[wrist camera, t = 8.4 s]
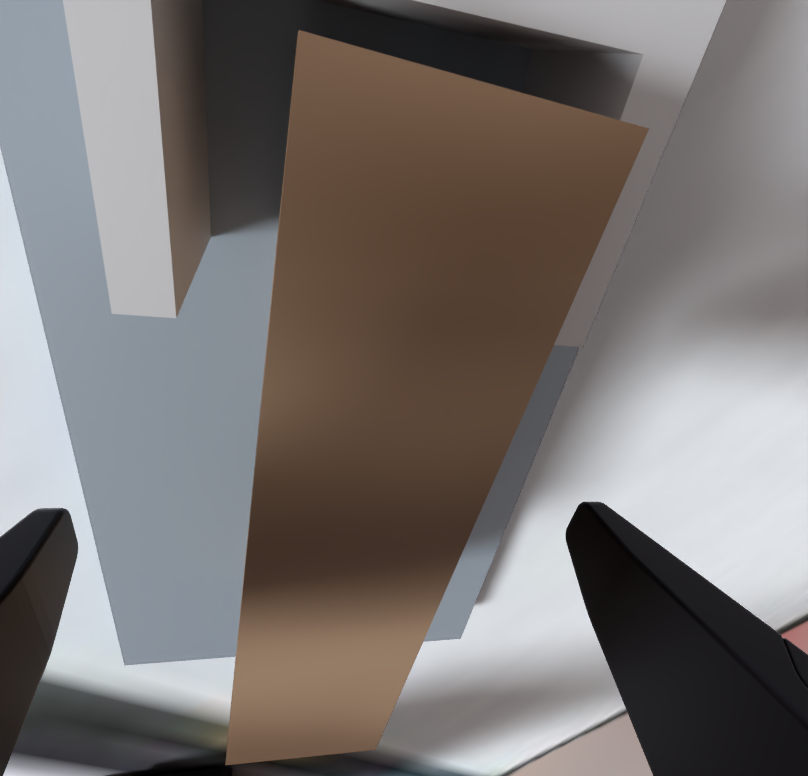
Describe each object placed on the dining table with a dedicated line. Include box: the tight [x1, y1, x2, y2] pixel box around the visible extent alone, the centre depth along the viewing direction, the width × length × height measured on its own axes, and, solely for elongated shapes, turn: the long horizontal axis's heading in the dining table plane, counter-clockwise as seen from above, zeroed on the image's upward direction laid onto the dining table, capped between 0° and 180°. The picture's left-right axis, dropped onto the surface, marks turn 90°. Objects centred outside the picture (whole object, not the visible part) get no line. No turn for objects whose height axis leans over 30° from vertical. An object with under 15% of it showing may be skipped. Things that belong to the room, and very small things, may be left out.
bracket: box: [0, 0, 726, 665], centre depth 12 cm, size 20×12×4 cm, turn 170°
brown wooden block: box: [225, 30, 649, 765], centre depth 10 cm, size 14×4×5 cm, turn 166°
